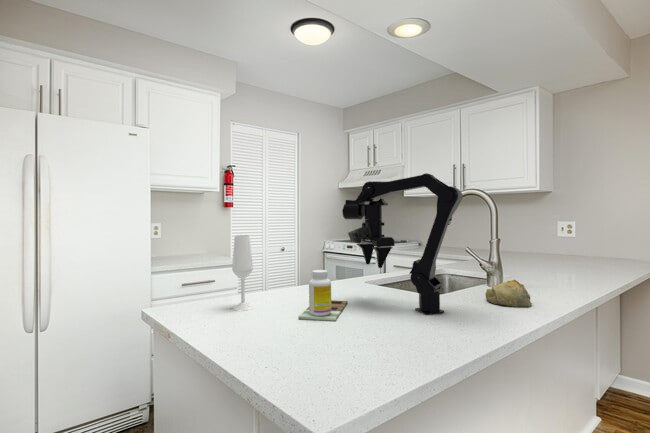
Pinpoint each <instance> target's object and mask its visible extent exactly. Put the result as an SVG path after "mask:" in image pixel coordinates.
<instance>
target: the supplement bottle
mask: <svg viewBox="0 0 650 433" xmlns="http://www.w3.org/2000/svg"><path fill="white" fill-rule="evenodd" d="M328 274H329V272H328V270H327V269H314V270H311V275H312V278H311V279H310V280H309V281H308V294H309V296H308V297H309V298H308V299H309V300H308V303H309V304H308V305H309V306H308V307H309V310H310V314H311V315H314V316H326V315H329V314H331V311H332V307H331V300H332V282H331V280H330V279H329V278H328Z"/></svg>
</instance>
